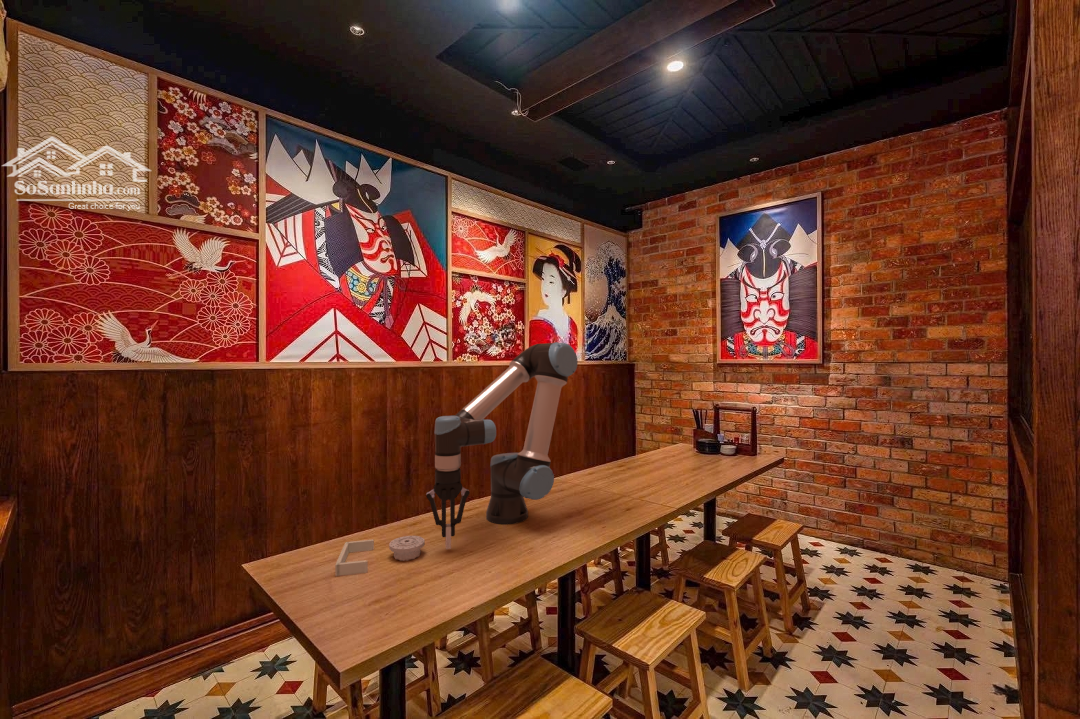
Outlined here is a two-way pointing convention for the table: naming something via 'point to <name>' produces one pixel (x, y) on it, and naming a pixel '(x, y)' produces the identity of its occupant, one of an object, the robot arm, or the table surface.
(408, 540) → the mechanical component
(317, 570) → the table surface
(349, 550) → the u-shaped bracket
